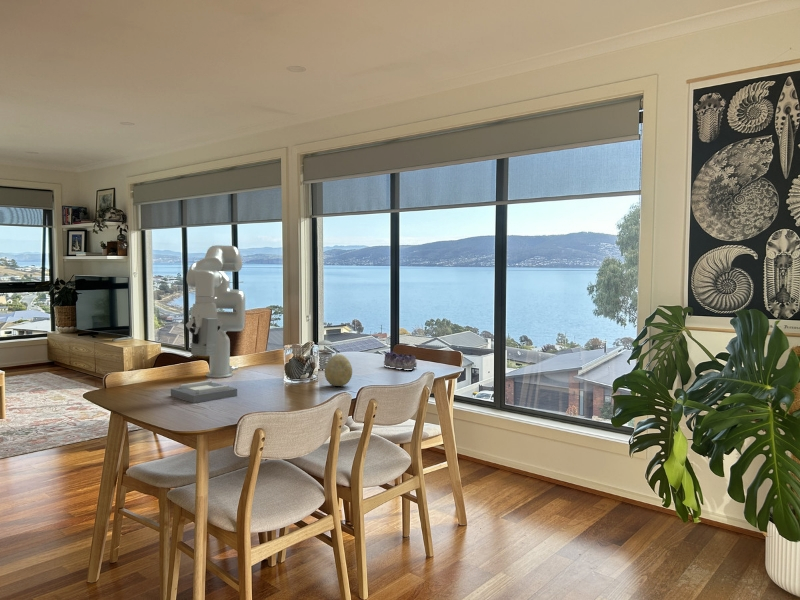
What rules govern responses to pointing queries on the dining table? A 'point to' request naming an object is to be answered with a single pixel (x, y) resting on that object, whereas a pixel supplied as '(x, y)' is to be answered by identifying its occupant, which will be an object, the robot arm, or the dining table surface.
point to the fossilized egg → (338, 370)
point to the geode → (400, 360)
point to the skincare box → (206, 338)
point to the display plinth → (203, 396)
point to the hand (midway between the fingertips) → (204, 342)
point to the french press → (325, 352)
